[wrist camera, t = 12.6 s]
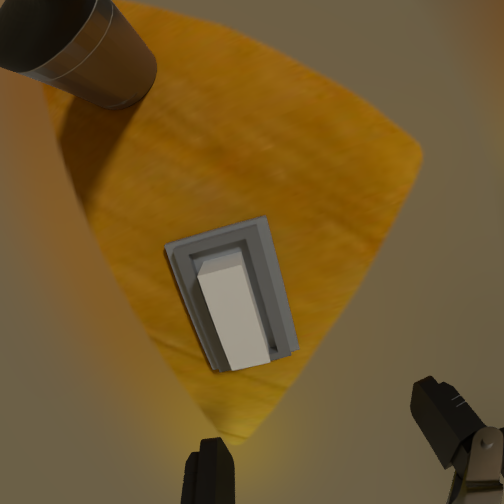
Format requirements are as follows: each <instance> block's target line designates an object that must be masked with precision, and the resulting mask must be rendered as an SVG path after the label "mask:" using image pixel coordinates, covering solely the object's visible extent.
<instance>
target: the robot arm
mask: <svg viewBox="0 0 504 504" xmlns="http://www.w3.org/2000/svg"><path fill="white" fill-rule="evenodd" d="M0 67H2V68H4V69H7V70H10V71H13V72H16V73H19V74H22V75H25V76H27V77H30V78H32V79H35V80H38V81H41V82H43V83H46V84H48V85H51V86H53V87H56V88H58V89H61V90H63V91H66V92H68V93H71V94H73V95H75V96H78V97H80V98H82V99H85V100H87V101H89V102H91V103H94V104H96V105H98V106H101V107H103V108H106V109H111V110H117V109H123V108H126V107H129V106H131V105H132V104H134V103H136V102H137V101H139V100H140V99H141V98H142V97H143V96H144V95H145V94H146V93H147V92H148V90H149V89H150V87H151V86H152V84H153V82H154V80H155V76H156V72H157V64H156V60H155V57H154V55H153V54H152V52H151V51H150V50H149V48H148V47H147V46H146V44H145V43H144V41H143V40H142V39H141V38H140V36H139V35H138V34H137V32H136V31H135V30H134V28H133V27H132V26H131V25H130V23H129V22H128V21H127V20H126V18H125V17H124V16H123V14H122V13H121V12H120V11H119V9H118V8H117V7H116V6H115V4H114V3H113V2H112V1H111V0H5V2H4V3H3V5H2V7H1V8H0ZM410 409H411V413H412V416H413V418H414V419H415V421H416V423H417V424H418V426H419V427H420V429H421V431H422V432H423V434H424V436H425V437H426V439H427V440H428V442H429V443H430V445H431V447H432V449H433V450H434V452H435V454H436V455H437V457H438V459H439V460H440V462H441V464H442V466H443V467H444V469H447V468H449V467H451V466H452V465H453V466H454V468H455V472H454V476H453V480H452V484H451V489H450V492H449V496H448V499H447V503H446V504H501V501H502V496H503V489H504V488H503V484H501V483H500V473H501V474H502V476H503V477H504V428H500V429H498V428H496V427H492V426H486V425H485V424H484V423H483V422H482V421H481V419H480V418H479V417H478V416H477V414H476V413H475V412H474V411H473V410H472V408H471V407H470V406H469V405H468V403H467V402H465V400H464V399H463V398H462V396H460V394H459V393H458V391H457V390H456V389H455V388H454V387H453V386H451V385H449V384H447V383H445V382H442V383H440V384H438V383H437V381H436V380H435V379H434V378H433V377H432V376H428V377H426V378H424V379H421V380H420V381H418V382H415V383H414V385H413V391H412V398H411V404H410ZM184 473H185V475H184V480H183V481H184V483H183V488H182V496H181V504H235V468H234V461H233V458H232V455H231V454H230V452H229V450H228V449H227V447H226V445H225V444H224V442H223V440H222V439H221V438H220V437H217V438H209V439H202V440H201V443H200V452H192V453H191V454H190V456H189V458H188V459H187V461H186V464H185V472H184Z"/></svg>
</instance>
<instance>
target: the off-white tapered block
mask: <svg viewBox="0 0 504 504" xmlns="http://www.w3.org/2000/svg"><path fill="white" fill-rule="evenodd" d="M197 277H198V280H199V283H200V286H201V288H202V291H203V294H204V297H205V300H206V303H207V306H208V308H209V311H210V314H211V317H212V319H213V322H214V325H215V328H216V330H217V333H218V336H219V338H220V341H221V344H222V346H223V349H224V351H225V354H226V357H227V359H228V362H229V364H230V367H231V369H232V371H233V370H238V369H243V368H247V367H252V366H256V365H260V364H265V363H269V362H270V356H269V350H268V344H267V339H266V335H265V332H264V328H263V325H262V322H261V318H260V315H259V311H258V308H257V304H256V301H255V297H254V294H253V290H252V287H251V284H250V280H249V277H248V273H247V270H246V266H245V263H244V259H243V256H242V252H237V253H234V254H230V255H226V256H222V257H219V258H215V259H211V260H208V261H204V262H203V264H202V266H201V269H200V271H199V273H198V276H197Z"/></svg>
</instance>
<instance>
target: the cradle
mask: <svg viewBox="0 0 504 504" xmlns="http://www.w3.org/2000/svg"><path fill="white" fill-rule="evenodd" d="M164 246H165V249H166V252H167V255H168V258H169V260H170V263H171V266H172V269H173V272H174V275H175V277H176V280H177V283H178V285H179V288H180V291H181V294H182V296H183V299H184V301H185V304H186V307H187V309H188V312H189V314H190V317H191V319H192V322H193V324H194V327H195V329H196V332H197V334H198V336H199V339H200V341H201V344H202V346H203V348H204V351H205V353H206V355H207V358H208V360H209V362H210V365H211V367H212V369H213V370H216V369H219V371H220V372H223V371H228V370H232V369H231V367H230V364H229V362H228V359H227V357H226V354H225V351H224V349H223V346H222V344H221V341H220V338H219V336H218V333H217V330H216V328H215V325H214V322H213V319H212V317H211V314H210V311H209V308H208V306H207V303H206V300H205V297H204V294H203V291H202V288H201V286H200V283H199V280H198V277H197V276H198V273H199V271H200V269H201V266H202V264H203V262H204V261H208V260H211V259H215V258H219V257H222V256H226V255H230V254H234V253H237V252H242V256H243V259H244V263H245V266H246V270H247V273H248V277H249V280H250V284H251V287H252V290H253V294H254V297H255V301H256V304H257V308H258V311H259V315H260V318H261V322H262V325H263V328H264V332H265V335H266V339H267V344H268V350H269V356H270V361H272V360H276V359H279V358H283V357H287V356H291V352H292V351H295V350H299V345H298V341H297V336H296V332H295V328H294V324H293V320H292V316H291V312H290V308H289V304H288V300H287V296H286V292H285V288H284V284H283V280H282V276H281V272H280V268H279V264H278V260H277V256H276V252H275V249H274V245H273V241H272V237H271V233H270V229H269V226H268V222H267V218H266V216H265V215H264V216H260V217H257V218H253V219H249V220H246V221H242V222H239V223H235V224H232V225H228V226H224V227H221V228H217V229H214V230H210V231H207V232H204V233H200V234H197V235H193V236H190V237H186V238H183V239H180V240H176V241H173V242H170V243H166V244H165V245H164Z"/></svg>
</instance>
